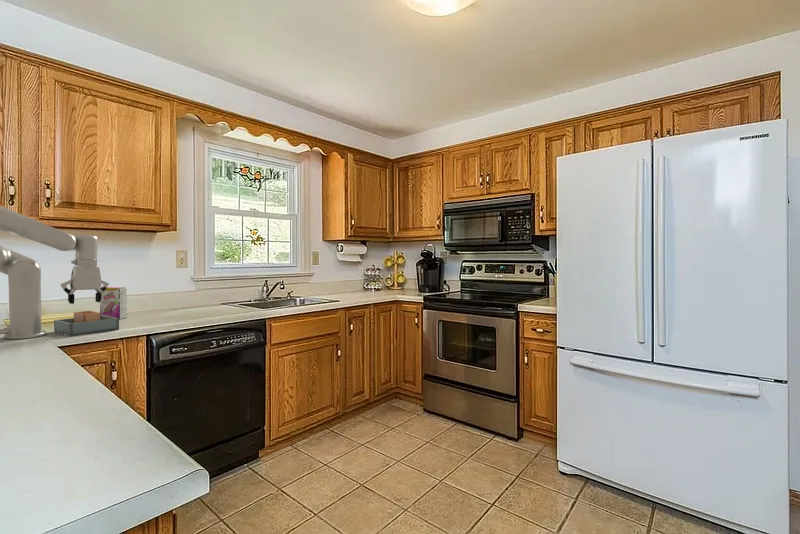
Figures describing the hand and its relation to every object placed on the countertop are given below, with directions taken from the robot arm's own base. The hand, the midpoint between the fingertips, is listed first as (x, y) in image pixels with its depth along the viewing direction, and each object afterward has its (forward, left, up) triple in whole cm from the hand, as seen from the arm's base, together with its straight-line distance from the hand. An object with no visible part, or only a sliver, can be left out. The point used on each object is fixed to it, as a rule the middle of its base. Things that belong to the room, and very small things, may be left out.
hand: (85, 302), depth 177 cm
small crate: (+1, 0, -11) cm, 11 cm away
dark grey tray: (+1, 0, -12) cm, 12 cm away
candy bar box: (+22, +25, -13) cm, 36 cm away
